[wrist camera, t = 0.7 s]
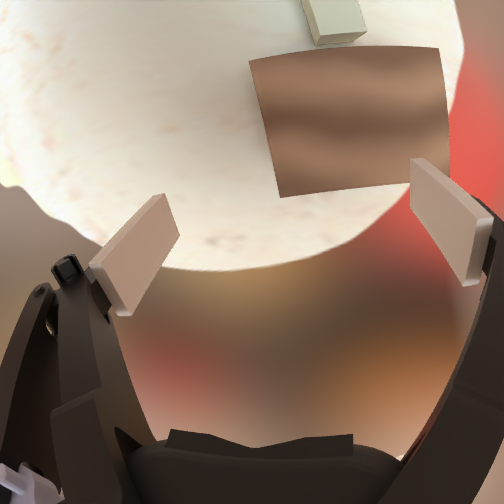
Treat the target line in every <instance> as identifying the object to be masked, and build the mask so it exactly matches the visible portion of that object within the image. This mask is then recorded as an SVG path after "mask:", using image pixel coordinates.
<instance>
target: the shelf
mask: <svg viewBox="0 0 504 504" xmlns="http://www.w3.org/2000/svg"><path fill="white" fill-rule="evenodd" d="M249 64H250V68H251V72H252V76H253V80H254V84H255V88H256V92H257V96H258V100H259V105H260V109H261V113H262V117H263V122H264V126H265V130H266V135H267V139H268V144H269V148H270V153H271V157H272V162H273V166H274V171H275V176H276V181H277V185H278V190H279V195H280V198H284V197H290V196H297V195H305V194H312V193H320V192H327V191H335V190H344V189H352V188H361V187H370V186H380V185H390V184H400V183H410V159H412V158H424V159H425V160H426V161H428V162H429V163H431V164H432V165H433V166H435V167H436V168H437V169H438V170H440V171H441V172H442V173H444V174H445V175H446V176H447V177H449V178H450V143H449V123H448V110H447V99H446V91H445V83H444V76H443V70H442V64H441V58H440V53H439V48H429V47H413V46H355V47H339V48H328V49H318V50H309V51H302V52H295V53H288V54H282V55H277V56H271V57H266V58H261V59H256V60H251V61H249Z"/></svg>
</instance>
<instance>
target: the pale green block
mask: <svg viewBox="0 0 504 504" xmlns="http://www.w3.org/2000/svg"><path fill="white" fill-rule="evenodd" d="M301 2H302V5H303V8H304V11H305V14H306V17H307V21H308V24H309V27H310V30H311V34H312V37H313V40H314V44H315V46H316V45H323V44H331V43H340V42H351V41H354V40H356V39H357V38H358V37H360V36H361V35H363V34H364V33H366V32H367V29H366V25H365V22H364V19H363V16H362V13H361V10H360V6H359V4H358V1H357V0H301Z"/></svg>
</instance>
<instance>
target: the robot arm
mask: <svg viewBox="0 0 504 504" xmlns="http://www.w3.org/2000/svg"><path fill="white" fill-rule="evenodd" d="M410 189H411V190H410V208H411V209H412V211H413V212H414V213H415V214H416V216H417V217H418V219H419V220H420V222H421V223H422V224H423V226H424V227H425V228H426V230H427V231H428V233H429V234H430V236H431V237H432V238H433V240H434V241H435V243H436V244H437V246H438V247H439V249H440V250H441V252H442V253H443V255H444V256H445V258H446V260H447V261H448V263H449V264H450V266H451V268H452V269H453V271H454V272H455V274H456V276H457V277H458V279H459V281H460V282H461V284H462V286H469V285H473V284H478V283H479V280H480V277H481V273H482V270H483V271H484V273H485V274H486V276H487V279H486V282H485V285H484V288H483V291H482V295H481V297H480V303H479V306H478V309H477V312H476V315H475V318H474V321H473V324H472V327H471V330H470V332H469V335H468V337H467V340H466V343H465V345H464V348H463V350H462V353H461V355H460V357H459V360H458V362H457V364H456V366H455V369H454V371H453V373H452V375H451V378H450V379H449V382H448V384H447V386H446V388H445V390H444V392H443V394H442V396H441V398H440V399H439V401H438V403H437V405H436V407H435V409H434V410H433V412H432V414H431V416H430V417H429V419H428V421H427V423H426V424H425V426H424V428H423V430H422V431H421V432H420V434H419V435H418V437H417V439H416V440H415V441H414V443H413V444H412V446H411V447H410V449H409V450H408V451H407V453H406V454H405V455H404V457H403V458H402V460H401V461H399V460H397V459H396V458H394V457H393V456H391V455H389V454H387V453H385V452H383V451H380V450H378V449H375V448H372V447H368V446H363V445H356V444H353V434H347V435H338V436H326V437H325V436H324V437H307V438H306V437H305V438H301V439H297V440H293V441H289V442H285V443H280V444H275V445H271V446H266V447H260V448H250V447H246V446H243V445H240V444H236V443H234V442H231V441H228V440H225V439H222V438H219V437H216V436H213V435H210V434H203V433H195V432H188V431H181V430H175V429H171V430H170V433H169V436H168V439H166V440H161V441H156V439H155V438H154V436H153V434H152V432H151V430H150V428H149V426H148V423H147V421H146V418H145V416H144V413H143V411H142V408H141V406H140V403H139V401H138V398H137V396H136V393H135V390H134V387H133V385H132V382H131V379H130V376H129V373H128V370H127V367H126V364H125V361H124V358H123V355H122V352H121V348H120V345H119V342H118V338H117V335H116V331H115V327H114V324H113V320H112V317H111V316H110V314H109V313H108V310H109V308H110V307H111V306H112V307H113V308H114V310H115V312H116V313H117V315H118V316H132V314H133V312H134V310H135V309H136V307H137V305H138V304H139V302H140V300H141V298H142V297H143V295H144V293H145V292H146V290H147V288H148V287H149V285H150V283H151V281H152V280H153V278H154V277H155V275H156V273H157V272H158V270H159V268H160V267H161V265H162V263H163V262H164V260H165V259H166V257H167V255H168V254H169V252H170V251H171V249H172V248H173V246H174V244H175V243H176V241H177V240H178V238H179V237H180V234H179V232H178V229H177V226H176V224H175V221H174V218H173V215H172V213H171V210H170V207H169V204H168V201H167V198H166V196H165V193H163V194H159V195H155V196H152V197H151V198H150V199H149V200H148V201H147V202H146V203H145V204H144V205H143V206H142V207H141V208H140V209H139V210H138V211H137V212H136V213H135V214H134V215H133V216H132V217H131V218H130V219H129V220H128V221H127V222H126V224H125V225H124V226H123V227H122V228H121V229H120V230H119V231H118V232H117V233H116V234H115V235H114V236H113V237H112V238H111V239H110V240H109V242H108V243H107V244H106V245H105V246H104V247H103V248H102V249H101V251H99V253H98V254H97V255H96V256H95V257H94V258H93V259H92V261H91V262H90V263H89V264H88V265H89V267H88V268H87V269H86V270H85V271H83V269H82V267H81V265H80V263H79V261H78V260H77V258H76V256H75V254H70V255H67V256H65V257H63V258H62V259H60V260H59V261H57V262H56V263H55V264H54V265H53V267H52V268H51V272H52V273H53V275H54V277H55V279H56V280H57V282H58V283H59V285H60V289H58V290H55V291H54V290H53V289H52V287H51V285H50V284H49V283H43V284H41V285H38V286H37V287H35V288H34V290H33V291H32V293H31V294H30V296H29V298H28V300H27V302H26V304H25V306H24V308H23V310H22V313H21V315H20V317H19V320H18V322H17V324H16V327H15V329H14V331H13V334H12V336H11V339H10V342H9V344H8V347H7V349H6V352H5V355H4V358H3V360H2V364H1V366H0V504H471V503H472V502H473V500H474V498H475V497H476V495H477V493H478V491H479V490H480V488H481V486H482V484H483V482H484V480H485V478H486V476H487V474H488V472H489V470H490V468H491V466H492V464H493V462H494V460H495V457H496V455H497V453H498V450H499V448H500V445H501V443H502V441H503V438H504V222H503V221H502V220H501V219H500V218H499V217H498V216H497V215H496V214H495V213H494V212H493V211H491V210H490V209H489V208H488V207H487V206H486V205H485V204H484V203H483V202H482V201H481V200H479V199H478V198H476V197H474V196H472V195H469V194H468V193H467V192H466V191H464V190H463V189H462V188H461V187H460V186H458V185H457V184H456V183H455V182H454V181H452V180H451V179H450V178H449V177H447V176H446V175H445V174H444V173H442V172H441V171H440V170H438V169H437V168H436V167H435V166H433V165H432V164H431V163H429V162H428V161H426V160H425V159H424V158H412V159H410ZM46 325H47V326H48V327H49V329H50V330H51V331H52V335H51V334H50V332H49V331H48V329H47V327H46ZM21 463H22V465H21ZM61 487H62V490H63V494H64V497H63V496H61V495H60V492H61Z"/></svg>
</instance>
